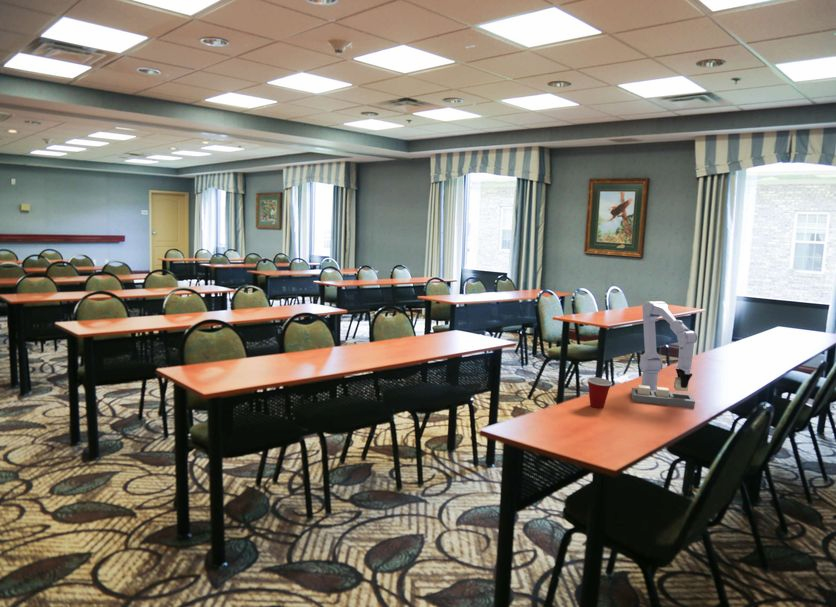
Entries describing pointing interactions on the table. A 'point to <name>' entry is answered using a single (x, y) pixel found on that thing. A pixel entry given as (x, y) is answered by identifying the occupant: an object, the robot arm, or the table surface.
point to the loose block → (679, 385)
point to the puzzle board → (661, 396)
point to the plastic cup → (598, 391)
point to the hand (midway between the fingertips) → (682, 386)
